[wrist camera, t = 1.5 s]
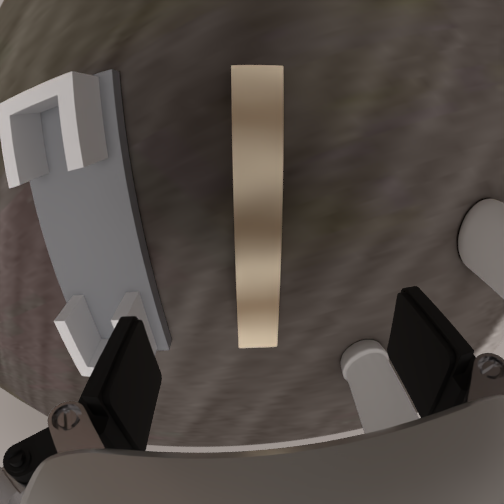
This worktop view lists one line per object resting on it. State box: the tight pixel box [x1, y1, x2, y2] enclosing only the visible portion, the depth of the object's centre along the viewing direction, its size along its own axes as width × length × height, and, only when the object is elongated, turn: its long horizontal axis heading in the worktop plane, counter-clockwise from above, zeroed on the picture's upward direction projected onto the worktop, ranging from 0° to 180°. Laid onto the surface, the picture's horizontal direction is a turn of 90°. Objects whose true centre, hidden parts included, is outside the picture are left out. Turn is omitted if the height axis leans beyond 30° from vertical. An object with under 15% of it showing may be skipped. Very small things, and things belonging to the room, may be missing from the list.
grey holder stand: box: [0, 69, 172, 376], centre depth 21 cm, size 24×9×6 cm, turn 5°
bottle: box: [340, 339, 419, 433], centre depth 19 cm, size 5×5×25 cm
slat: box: [231, 65, 284, 348], centre depth 22 cm, size 20×3×4 cm, turn 0°
